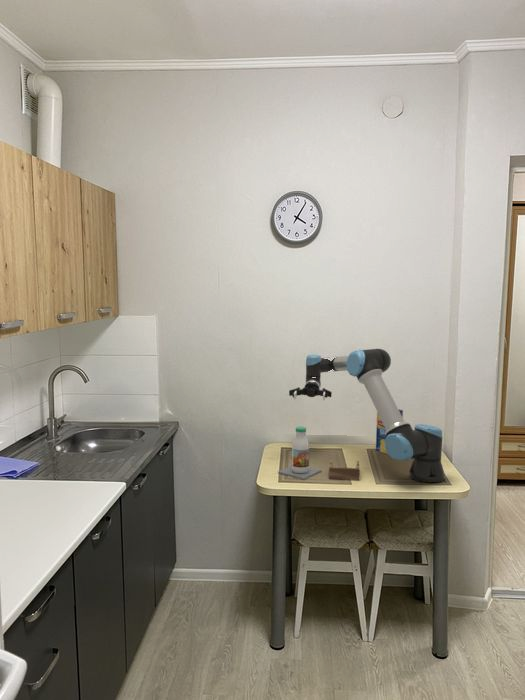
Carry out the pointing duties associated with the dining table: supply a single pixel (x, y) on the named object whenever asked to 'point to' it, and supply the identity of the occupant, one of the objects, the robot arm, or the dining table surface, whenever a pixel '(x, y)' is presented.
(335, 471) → the wooden frame
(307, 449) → the milk bottle
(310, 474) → the grey tile
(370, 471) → the dining table surface
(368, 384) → the robot arm
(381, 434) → the beverage box
